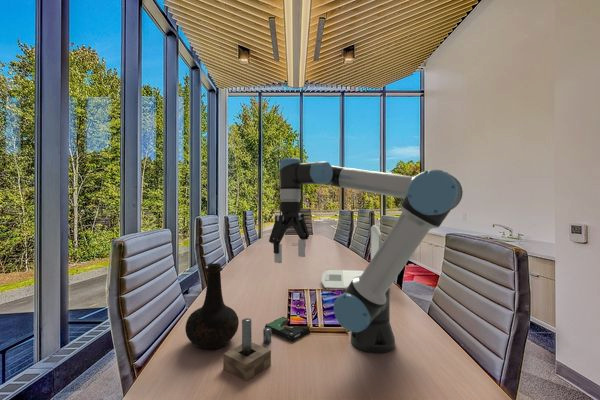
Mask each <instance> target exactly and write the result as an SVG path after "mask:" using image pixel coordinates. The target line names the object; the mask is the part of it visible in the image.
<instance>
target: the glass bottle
mask: <svg viewBox="0 0 600 400" xmlns="http://www.w3.org/2000/svg"><path fill="white" fill-rule="evenodd" d="M204 271H205V272H207V278H206V279H207V280H206V281H207V282H206V291H205V297H204V301H203V304H202V306H201V307H199V308H196V309H195V310H193V312H191V313H190V315H189V316H188V318H187V320H186V323H185V328H184V329H185V334H186V337H187V339H188V340H189V342H191V344H193V345H194V346H196V347H199V348H201V349H205V350H212V349H213V350H214V349H218V348H220V347H224V346H226V345H227V344H228V343H229V342H230V341H231V340H233V337H234V336H235V335H236V334H237V331H238V329H239V322H240V321H239V316H238V315H237V312H236V311H235V310H234V309H233V308H231V307H230V306H227V305H226V304H225V302H224V297H223V292H222V290H223V289H222V280H221V279H222V277H221V271H223V267H221V263H219V262H216V263H213V262H210V263H208V264H207V267H206V268H205V270H204Z"/></svg>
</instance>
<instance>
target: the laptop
mask: <svg viewBox="0 0 600 400" xmlns="http://www.w3.org/2000/svg"><path fill="white" fill-rule="evenodd" d="M382 243H383V241H382V233H381V231H380V228H379V227H378V226H377V225H375V224H373V225H372V226H370V261H371V260H372V258H373V257H374V255H375V254H376V252H377V251H378V249H379V248H380V246H381V244H382ZM364 271H365V270H359V269H358V270H356V269H353V270H352V269H326V270H325V271H324V272H323V273H322V274H321V279H320V281H321V284H322V286H323V287H324V288H325V289H327V290H329V289H344V290H345V291H346V289H347V287H348V286H349V284H350V283H351V281H352V280H353V278H354V277H357V276H361V275H362V274H363V272H364ZM345 291H344V292H345Z"/></svg>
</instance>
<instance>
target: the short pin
mask: <svg viewBox="0 0 600 400" xmlns="http://www.w3.org/2000/svg"><path fill="white" fill-rule="evenodd" d="M262 331H263V332H262V337H263V339H262V340H263V341H262V343H263V344H265V345H268V344H271V343H272V333H271V328H265V327H264V328H263V330H262Z"/></svg>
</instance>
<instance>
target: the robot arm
mask: <svg viewBox="0 0 600 400" xmlns="http://www.w3.org/2000/svg"><path fill="white" fill-rule="evenodd" d="M301 161H302V160H301V159H300V158H298V157H284V158H281V159H280V164H279V183H280V187H279V192H280V193H279V194H280V196H279V197H280V198H279V199H280V203H279V211H280V213H281V214H276V215H275V216H274V217H275V219H274V224H273V227H272V230H271V233H270V236H269V239H268V242H269V243H271V244H273V254H274V255H273V257H274V260H273V261H274V263H276V264H282V263H283V260H282V259H283V256H282V251H283V249H282V247H283V246H282V243H281V242H282V240H283V238H284V236H285V234H286V232H287V230H288V229H289V228H291V227H293V229H294V231H295V233H296V234H297V236H298V238H299V239H297V246H298V248H297V252H298V253H297V254H298V255H297V256H298V257H301V258H305V257H306V240H308V239H309V237H310V233H309V230H308V227H307V223H306V221H305V214H304V213H300V212H301V211H302V210H301V209H302V207H301V205H302V203H301V202H300V201H301V199H302V197H301V196H302V194H301V193H302V192H301V190H302V188H301V187H302V186H301V185H322V186H323V185H324V186H331V187H338V188H344V189H349V190H355V191H361V192H365V193H371V194H376V195H377V194H378V195H382V196H388V197H393V198H397V199H398V198H399V199H403V201H402V202H401V204H400V208H401V214H400V215H399V217H398V218H397V220H396V221H395V223H394V224H393V226H392V227H391V229H390V231H389V232H388V234H387V235H386V237H385V239H384V240H383V241H382V244H381V246H380V248H379V249H378V251H377V252H376V254H375V255H374V257H373V258H372V260H371V259H370V261H369V263H368V265H367V266H366V268H365V269H364V270H363V271H364V272H363V274H362V275H361V276H357V277H354V278H353V280H352V281H351V283H350V284H349V286H348V287H347V289H346V291H343V293H341V294H339V295H338V296H337V297H336V299H335V300H334V303H333V313H334V317H335V319H336V320H337V322H338V324H339V325H340V327H342V328H343V329H345V331H349V332H350V342H351V343H350V344H352V346H353V347H355V348H356V349H358V350H361V351H363V352H365V353H371V354H384V353H388V352H392V351H393V350H394V349H395V347H396V340H395V339H396V338H395V334H394V331H393V328H392V326H391V322H390V321H391V320H390V319H391V316H390V314H391V313H390V311H391V310H390V305H391V302H390V299H391V298H390V297H391V296H390V293H391V292H390V291H391V288H390V287H392V285H393V283H394V282H395V280H396V279H397V278H398V276H399V275H400V274H401V271H402V270H403V269H404V268H405V266H406V265H407V263H408V262H409V260H410V259H411V257H412V256H413V254H414V253H415V251H416V250H417V249H418V247H419V246H420V244H421V243H422V242H423V240H424V239H425V238H426V236H427V234H428V233H429V231H430V230H432V229H437V228H440V226H441V225H442V223H443V222H444V220H445V219H446V218H447V216H448V215H449V213H451V210H453V209H455V208H456V207H457V206H458V205H459V204H460V203H461V200H462V198H463V192H464V191H463V188H462V185H461V182H459V180H458V179H457V177H455V176H453V175H452V174H450V173H448V172H446V171H443V170H442V169H441V170H440V169H428V170H425V171H421V172H420V173H417V174H416V175H414V176H412V175H405V174H404V175H403V174H397V173H389V172H382V171H374V170H368V169H367V170H366V169H360V168H352V167H343V166H339V165H338V166H337V165H331V164H330V162H329V161H324V160H323V161H322V160H321V161H320V160H318V161H310V162H301Z"/></svg>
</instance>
